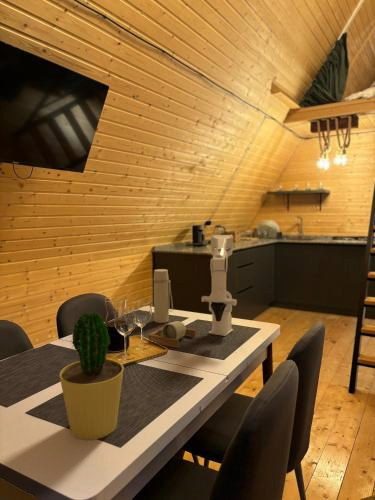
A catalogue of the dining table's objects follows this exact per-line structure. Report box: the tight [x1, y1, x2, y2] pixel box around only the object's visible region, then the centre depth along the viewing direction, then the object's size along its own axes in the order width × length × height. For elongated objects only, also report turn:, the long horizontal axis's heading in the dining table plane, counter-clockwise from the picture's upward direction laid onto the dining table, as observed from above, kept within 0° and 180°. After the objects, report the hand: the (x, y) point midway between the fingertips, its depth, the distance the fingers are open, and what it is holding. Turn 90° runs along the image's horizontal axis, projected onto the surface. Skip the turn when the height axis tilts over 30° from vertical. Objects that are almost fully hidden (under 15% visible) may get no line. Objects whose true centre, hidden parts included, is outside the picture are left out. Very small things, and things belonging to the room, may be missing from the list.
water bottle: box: [153, 268, 174, 324], centre depth 184 cm, size 9×8×25 cm
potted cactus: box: [59, 311, 125, 441], centre depth 95 cm, size 15×15×30 cm
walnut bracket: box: [147, 327, 197, 349], centre depth 161 cm, size 15×14×3 cm
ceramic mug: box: [160, 320, 187, 340], centre depth 161 cm, size 11×8×8 cm
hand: (218, 320), depth 154 cm, fingers closed
